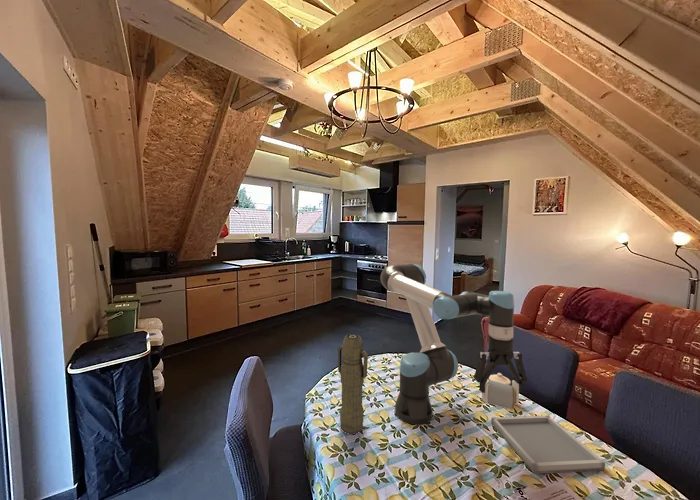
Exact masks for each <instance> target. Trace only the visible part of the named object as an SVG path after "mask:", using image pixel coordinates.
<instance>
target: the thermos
mask: <svg viewBox="0 0 700 500" xmlns="http://www.w3.org/2000/svg"><path fill="white" fill-rule="evenodd" d="M363 347H364V346H363V340H362V337H361V336H360V335H358V334H354V333H350V334H346V335H345V336H344V338H343V342H342V345H341V346H339V348H337V370H338V371H337V372H338V373H339V375H340V384H341V408H340V409H339V421H340V427H341V428H340V430H341V429H342V430H343V431H344V432H346V433H345V434H347V433H349V434H348V435H355V434H354V433H357V434H359V433H358V432H360V431H361V430H362V431H363V429H364V416H365V415H364V411H365V410H364V406H363V385H364V384H365V383H364V382H365V379H366V378H367V377H368V363H369V362H368V359H369V354H368V352H367V351H366V350H364V349H363ZM342 430H341V431H342ZM343 431H342V432H343ZM362 431H361V432H362ZM344 432H343V433H344ZM361 432H360V433H361Z"/></svg>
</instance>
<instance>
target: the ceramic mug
mask: <svg viewBox="0 0 700 500" xmlns="http://www.w3.org/2000/svg"><path fill="white" fill-rule="evenodd" d="M487 382H488V404H489V405H493V406H496V407H502V408H506V409H513V408H515V404H516V402H515V389H514V387H512V385H511V386H510V385H507V384H503V383H499V382H496V381H492V380H487Z"/></svg>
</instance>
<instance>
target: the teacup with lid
mask: <svg viewBox="0 0 700 500" xmlns="http://www.w3.org/2000/svg"><path fill="white" fill-rule="evenodd" d="M489 380H492V381H496V382H499V383H503V384H507V385H510V386H512V380H510V379H509V378H508V377H506V376H504V375H503V374H502V373H501V372H497V374H491V375H490V377H489V378H488V380H487V382H486V383H487V384H488V381H489Z"/></svg>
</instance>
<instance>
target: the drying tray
mask: <svg viewBox="0 0 700 500" xmlns="http://www.w3.org/2000/svg"><path fill="white" fill-rule="evenodd" d="M490 424H491V425H492V426H493V428H495V430H496V431H497V432H498V433H499V434H500V436H501V437H502V438H503V440H505V442H506V443H507V444H508V445H509V446H510V447H511V449H512V450H513V451H514V452H515V453H516V454H517V455H518V457H519V458H520V459H521V460H522V461H523V462H524V463H525V465H526V466H527V467H528V468H529V469H530V470H531V472H532V473H533V474H534V475H537V474H538V475H539V474H540V475H541V474H555V473H574V472H575V473H577V472H593V471H594V472H596V471H597V472H598V471H605V470H606V462H605V461H604V460H603V459H602V458H600V457H599V456H598V455H596V454H595V453H594V452H593V451H592V450H591V449H589V448H588V447H587V446H586V445H584V443H582V442H581V441H580V440H578V439H577V438H576V437H575V436H573V434H571V433H570V432H568V430H566V429H565V428H564V427H562V426H561V425H560V424H559V423H558V422H557V421H556V420H554V419H553V418H552V417H550V415H530V416H529V415H527V416H525V415H524V416H501V417H500V416H499V417H497V416H496V417H491V423H490Z"/></svg>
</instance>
